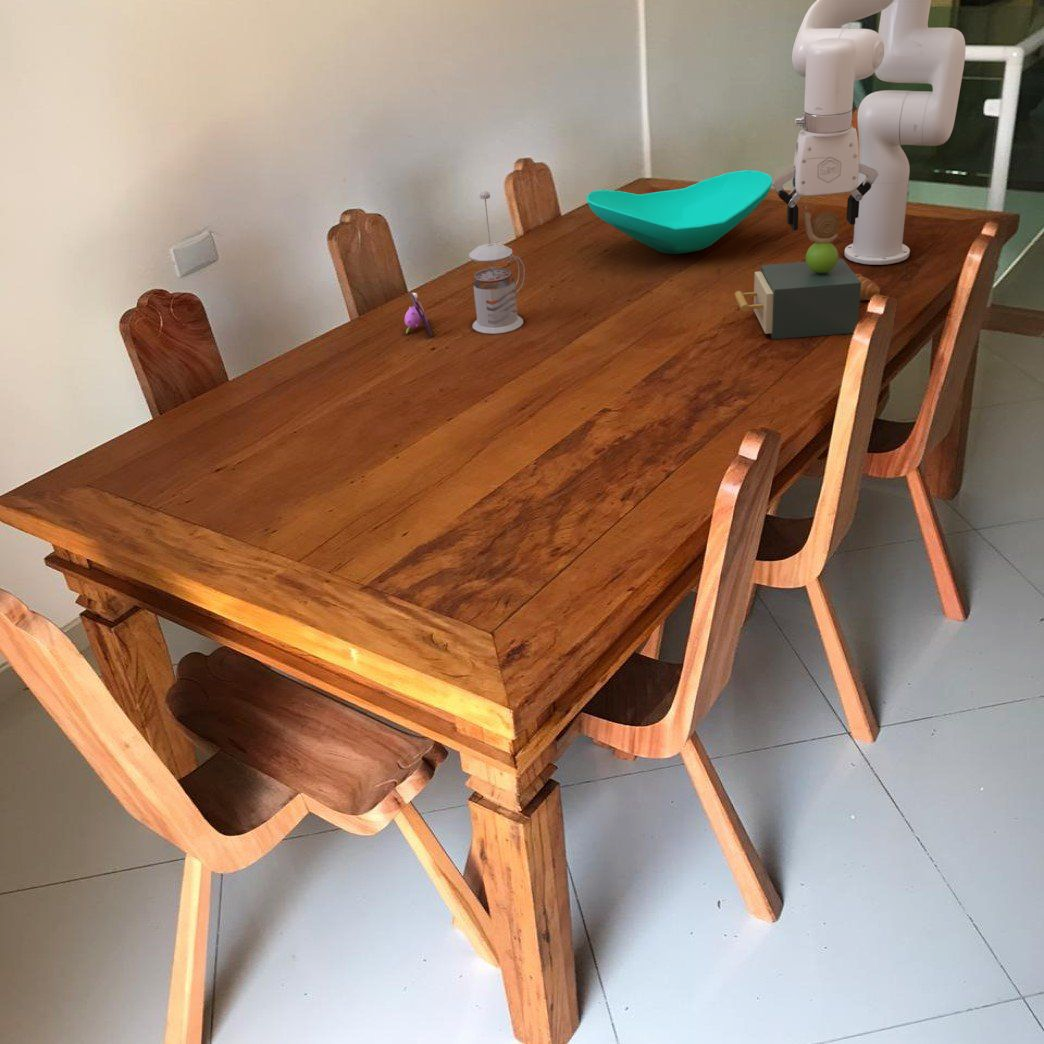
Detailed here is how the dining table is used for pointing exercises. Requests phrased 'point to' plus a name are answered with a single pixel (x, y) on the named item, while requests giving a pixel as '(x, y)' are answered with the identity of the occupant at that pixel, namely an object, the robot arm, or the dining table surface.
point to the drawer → (759, 301)
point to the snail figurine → (821, 241)
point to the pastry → (867, 288)
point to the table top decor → (683, 211)
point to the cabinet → (812, 300)
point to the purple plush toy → (415, 315)
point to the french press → (498, 314)
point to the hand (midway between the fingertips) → (822, 225)
